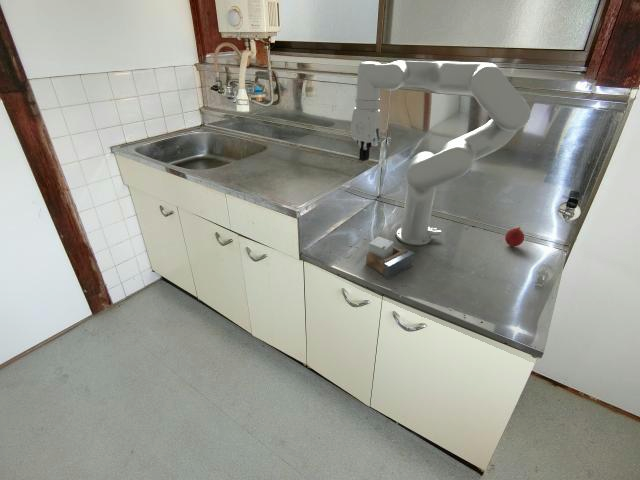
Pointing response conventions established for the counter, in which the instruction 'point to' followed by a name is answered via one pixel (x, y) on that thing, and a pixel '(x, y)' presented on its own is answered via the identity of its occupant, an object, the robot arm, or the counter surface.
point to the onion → (514, 237)
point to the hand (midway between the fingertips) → (364, 159)
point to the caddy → (379, 263)
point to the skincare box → (381, 248)
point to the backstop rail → (398, 264)
